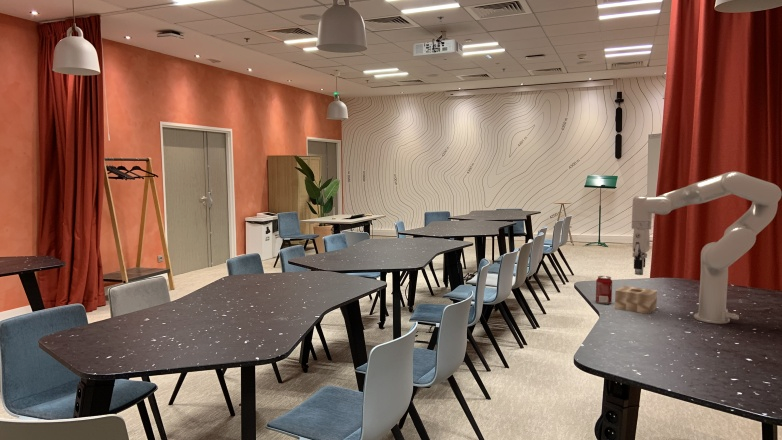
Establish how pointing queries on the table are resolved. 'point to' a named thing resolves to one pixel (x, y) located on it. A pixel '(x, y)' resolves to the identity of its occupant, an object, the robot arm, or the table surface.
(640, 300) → the block
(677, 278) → the table surface
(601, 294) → the soda can
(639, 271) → the pin
